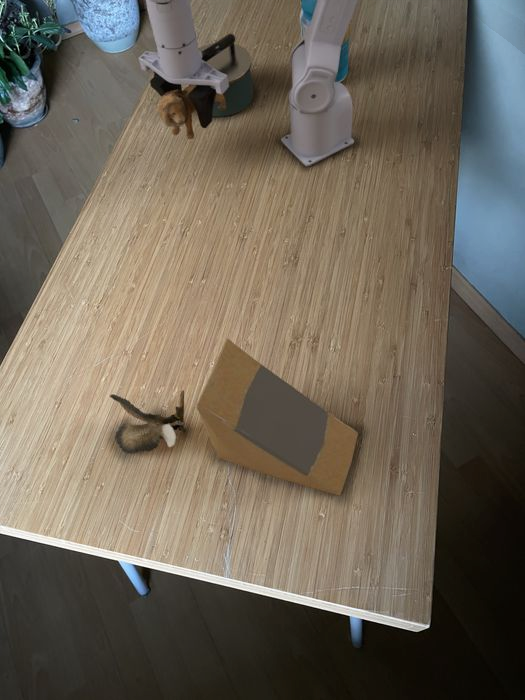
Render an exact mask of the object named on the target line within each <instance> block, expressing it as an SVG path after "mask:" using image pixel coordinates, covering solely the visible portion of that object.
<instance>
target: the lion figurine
mask: <svg viewBox="0 0 525 700" xmlns="http://www.w3.org/2000/svg"><path fill="white" fill-rule="evenodd" d="M195 87H196V85H188V86H187V87H185V88H184V89H182V90H179V89H178V90H174V91H170V92H167V93H165V95H163V96H162V97H161V96H160V98H159V100H158V103H157V105H156V106H157V112H158V115H159V117H160V119H161V121H162V123H163V124H164V125H165V126H166V127H169V128H171V127H173V128H172V129H171V134H172V135H173V136H178V135H179V134H180V130H181V129H180V128H181V127H182V126H184V125H185V127H186V128H185V129H186V130H185V131H186V135H185V137H186V139H187V140H194V138H195V132H194V129H193V113H194V112H196V113H197V111H196V108H195V106H194V104H193V103H192V101H191V100H190V98H189V97H188V94H189V93H190V92H191V91H192V90H193V89H194V88H195ZM215 101H217V102H221V104H220V105H219V106H218V107H219V110H225V108H226V103H225V98H224V96H223V95H222V94H219V93H217V94H216V97H215Z"/></svg>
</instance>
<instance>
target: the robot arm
mask: <svg viewBox="0 0 525 700" xmlns="http://www.w3.org/2000/svg"><path fill="white" fill-rule="evenodd" d="M358 1H359V0H317V4H316V7H315V10H314V14H313V17H312V20H311V24H310V26H308V27H307V28H306V29H305V32H304V35H303V37H301V38H300V40H299V42H298V43H296V45H295V46H294V47H293V49H292V51H291V52H290V53H291V54H290V65H291V80H292V81H291V82H292V83H291V84H292V87H291V89H290V91H289V93H288V100H289V101H288V102H289V104H288V105H289V122H290V133H289V134H286V135H284V136H282V137H281V138H280V141H281V143H282V144H283V145H284V146H285V147H286V148H287V149H288V150H289V151H290V152H291V153H292V154H293V156H295V157H296V158H297V159H298V161H300V162H301V163H302V165H303V166H305V167H310V166H312V165H314V164H316V163H318V162H320V161H322V160H324V159H326V158H328V157H330V156H332V155H334V154H336V153H338V152H340V151H342V150H344V149H346V148H347V147H349V146H352V145H353V144H354V143H355V139H353V137H352V131H353V113H354V110H353V109H354V106H353V105H354V104H353V101H352V97H351V95H350V92H349V90H348V88H347V87H346V86H345V85H344V84H343V83H342V82H335V78H336V75H337V72H338V66H339V58H340V50H341V45H342V42H343V39H344V37H345V34H346V31H347V28H348V26H349V23H350V24H351V22H350V20H351V21H352V17H353V14H354V12H355V9H356V6H357V3H358ZM145 3H146V10H147V14H148V18H149V22H150V26H151V30H152V33H153V38H154V43H155V45H156V49H157V52H154V51H149V50H145V51H144V52H143V53H142V54H141V55H140V56H139V57H138V62H139V65H140V70H142V71H145V72H148V71H149V70H152V71H153V77H152V78H151V79H150V80H149V84H150V88H152V89H153V90H154V91H155V92H156V93H157V95H159V96H160V98H161V97H162V96H163V95H165V93H167V92H170V91H174V90H178V89H179V90H182V91H183V87H182V85H188V86H189V85H196V87H195V88H194V89H193V90H192V91H191V92H190V93H189V94H188V97H189V98H190V100H191V101H192V103H193V104H194V106H195V108H196V111H197V112H196V111H195V112H196V113H197V118H198V122H199V125H200V126H201V128H202V129H207V128H208V127H209V126H210V125H211V123H212V122H213V116H212V114H213V106H214V101H215V97H216V94H217V93H219V94H223V93H224V92H225V91H226V90H227V88H228V87H229V83H228V76H227V75H226V74H223V73H221V72H219V71H217V70H216V69H215V68H213V67H212V66H210V65H209V64H208V63H206V62H205V61H203V60H202V59H201V58H202V53H201V52H199V48H200V47H199V44H198V38H197V33H196V28H195V23H194V17H193V12H192V6H191V2H190V0H145Z"/></svg>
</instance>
